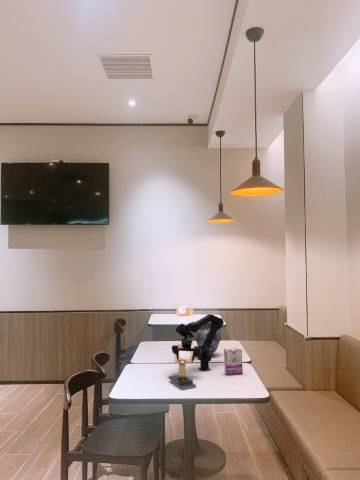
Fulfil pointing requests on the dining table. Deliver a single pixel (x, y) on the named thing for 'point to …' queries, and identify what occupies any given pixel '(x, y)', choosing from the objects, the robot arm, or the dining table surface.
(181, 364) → the brass pin
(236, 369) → the candy bar box
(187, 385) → the grey rectangular frame
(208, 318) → the robot arm
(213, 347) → the decorative vase
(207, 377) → the dining table surface
